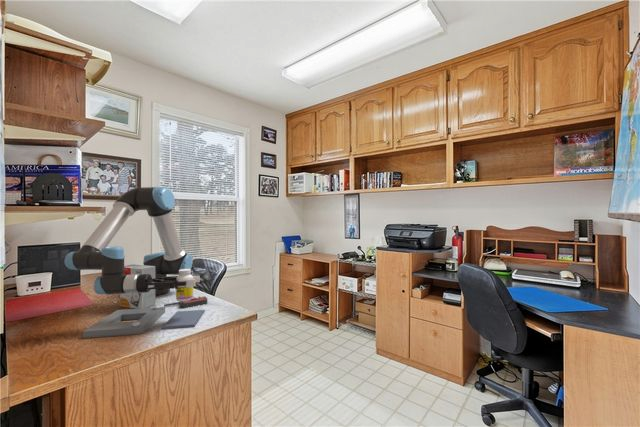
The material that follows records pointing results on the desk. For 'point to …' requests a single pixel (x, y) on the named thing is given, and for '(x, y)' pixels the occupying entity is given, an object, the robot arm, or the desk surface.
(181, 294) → the supplement bottle
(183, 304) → the walkie-talkie
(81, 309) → the desk surface
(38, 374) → the desk surface
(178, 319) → the mat
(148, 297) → the hard drive box
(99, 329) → the frame
